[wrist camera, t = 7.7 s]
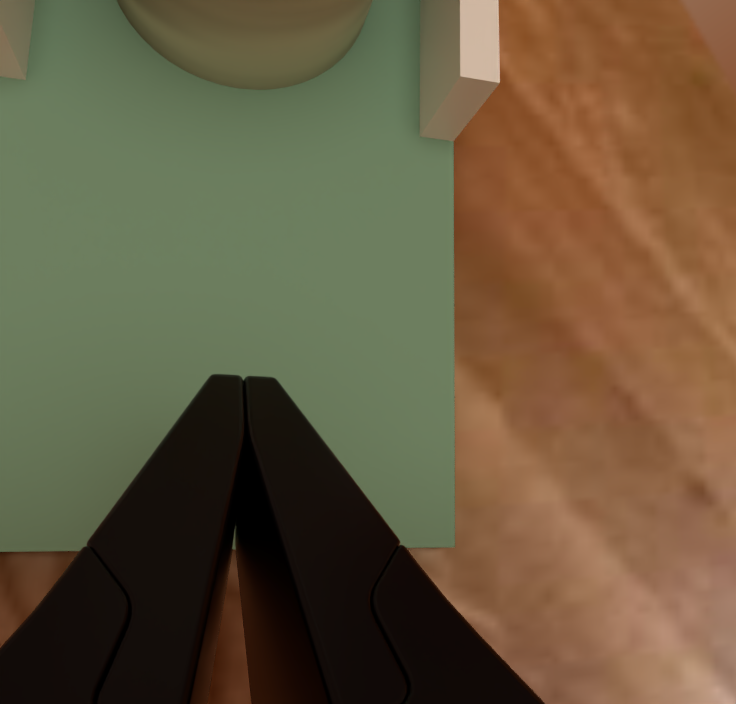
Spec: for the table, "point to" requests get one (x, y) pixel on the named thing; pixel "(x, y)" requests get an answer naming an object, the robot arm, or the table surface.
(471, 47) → the white frame
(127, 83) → the putting mat
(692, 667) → the table surface
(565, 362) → the table surface
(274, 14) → the birch cylinder
